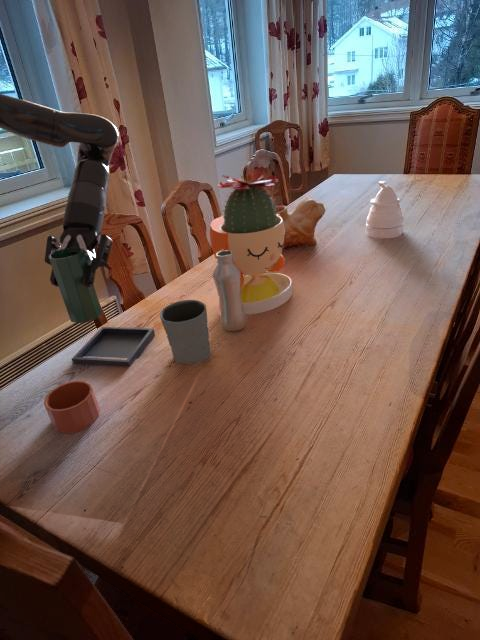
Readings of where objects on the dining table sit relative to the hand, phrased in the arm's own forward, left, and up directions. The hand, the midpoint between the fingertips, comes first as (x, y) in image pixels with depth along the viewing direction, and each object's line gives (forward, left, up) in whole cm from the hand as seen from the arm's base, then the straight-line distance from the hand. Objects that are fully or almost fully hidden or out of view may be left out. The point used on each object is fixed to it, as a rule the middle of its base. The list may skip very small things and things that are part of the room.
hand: (71, 285), depth 85 cm
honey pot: (+66, +92, -23) cm, 115 cm away
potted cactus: (+27, +40, -23) cm, 53 cm away
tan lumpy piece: (+33, +83, -23) cm, 92 cm away
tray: (-1, +10, -22) cm, 25 cm away
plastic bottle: (+26, +22, -23) cm, 41 cm away
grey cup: (+19, +9, -23) cm, 31 cm away
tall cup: (0, +2, -8) cm, 8 cm away
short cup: (+3, -14, -22) cm, 26 cm away
